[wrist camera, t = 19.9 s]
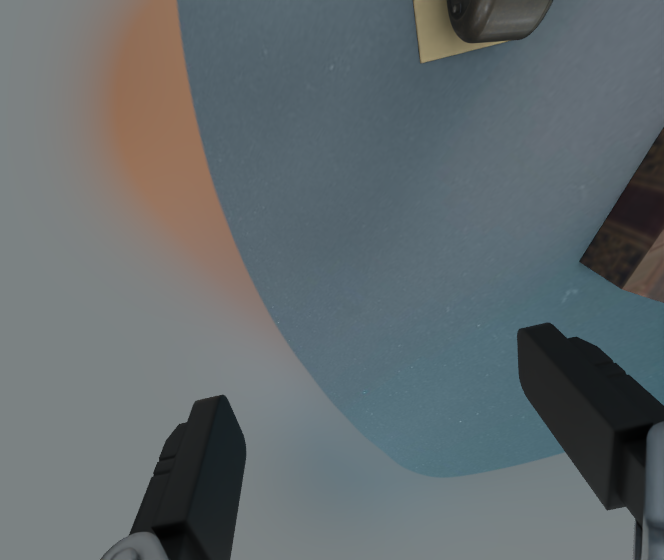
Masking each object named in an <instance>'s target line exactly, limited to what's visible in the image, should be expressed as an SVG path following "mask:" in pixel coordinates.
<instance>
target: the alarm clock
mask: <svg viewBox="0 0 664 560" xmlns="http://www.w3.org/2000/svg"><path fill="white" fill-rule="evenodd" d="M552 2H553V0H447V8H448V14H449V19H450V22H451V25H452V28H453V30H454V32H455V33H456V35H457V36H458V37H459V38H460V39H461V40H463V41H464V42H466V43H486V42H498V41H510V40H520V39H523V38H525V37H527V36H528V35H530V34H531V33H532V32H533V31H534V30H535V29H536V28H537V27H538V25H539V24H540V23H541V21H542V20H543V18H544V17H545V15H546V13H547V11H548V10H549V8H550V6H551V4H552Z"/></svg>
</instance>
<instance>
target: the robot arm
mask: <svg viewBox="0 0 664 560" xmlns="http://www.w3.org/2000/svg"><path fill="white" fill-rule="evenodd" d="M517 343H518V368H519V379H520V383H521V386H522V389H523V391H524V393H525V395H526V397H527V398H528V400H529V401H530V403H531V404H532V406H533V407H534V408H535V410H536V411H537V413H538V414H539V415H540V417H541V418H542V420H543V421H544V422H545V424H546V425H547V427H548V428H549V429H550V431H551V432H552V434H553V435H554V437H555V438H556V439H557V441H558V442H559V444H560V445H561V446H562V448H563V449H564V451H565V452H566V453H567V455H568V456H569V458H570V459H571V460H572V462H573V463H574V465H575V466H576V467H577V469H578V470H579V472H580V473H581V475H582V476H583V477H584V479H585V480H586V482H587V483H588V484H589V486H590V487H591V489H592V490H593V491H594V493H595V494H596V496H597V497H598V498H599V500H600V501H601V503H602V504H603V505H604V507H605V508H606V510H611V509H616V508H621V507H627V508H628V510H629V511H630V512H631V514H632V515H633V516H634V518H635V525H634V545H633V560H664V406H663V405H662V404H661V403H660V402H659V401H658V400H657V399H656V398H654V397H653V396H652V395H651V394H650V393H649V392H648V391H647V390H645V389H644V388H643V387H642V386H641V385H640V384H639V383H638V382H637V381H635V380H634V379H633V378H632V377H631V376H630V375H626V373H625V371H624V370H623V369H622V368H621V367H620V366H619V365H617V364H616V363H613V360H612V359H611V358H610V357H609V356H607V355H606V354H605V353H604V352H603V351H602V350H601V349H600V348H598V347H597V346H595V345H593V344H591V343H589V342H587V341H584V340H582V339H580V338H578V337H572V338H568V339H567V338H566V337H565V336H564V335H563V334H562V333H561V332H560V331H559V330H558V329H557V328H556V327H555V326H554V325H552V324H551V323H543V324H539V325H534V326H530V327H526V328H521V329H519V330H518V333H517ZM245 461H246V444H245V439H244V435H243V433H242V430H241V429H240V426H239V424H238V422H237V419H236V417H235V415H234V412H233V410H232V408H231V406H230V403H229V401H228V399H227V398H226V396H224V395H219V396H215V397H210V398H206V399H202V400H197V401H195V403H194V405H193V407H192V410H191V413H190V416H189V418H188V421H187V422H186V423H182V424H179V425H178V426H177V427H176V429H175V430H174V431H173V432H172V434H171V435H170V436H169V438H168V439H167V440H166V442H165V444H164V447H163V450H162V452H161V455H160V457H159V462H157V465H156V467H155V470H154V473H153V474H154V476H153V477H152V478H151V480H150V483H149V485H148V488H147V490H146V493H145V495H144V498H143V501H142V503H141V506H140V509H139V511H138V514H137V516H136V519H135V521H134V524H133V526H132V529H131V531H130V534H129V536H128V537H126V538H123V539H122V540H120V541H119V542H117V543H116V544H115V545H114V546H112V547H111V548H110V549H109V550H108V551H107V552H106V553H105V554H104V555H103V557H102V558H101V559H100V560H230V557H231V551H232V544H233V537H234V531H235V525H236V519H237V512H238V506H239V499H240V493H241V487H242V480H243V474H244V468H245Z"/></svg>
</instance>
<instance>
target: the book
mask: <svg viewBox="0 0 664 560" xmlns="http://www.w3.org/2000/svg"><path fill="white" fill-rule="evenodd" d="M580 263H582V264H584V265H585V266H587V267H588V268H590V269H591V270H593V271H594V272H596V273H598V274H599V275H601V276H602V277H604V278H605V279H607V280H608V281H610V282H611V283H613V284H615V285H616V286H618V287H619V288H621V289H623V290H626V291H629V292H632V293H635V294H638V295H641V296H644V297H647V298H650V299H653V300H657V301H660V302H663V303H664V128H663V130H662V131H661V133H660V134H659V136H658V138H657V139H656V141H655V142H654V144H653V146H652V147H651V149H650V150H649V152H648V154H647V155H646V157H645V158H644V160H643V161H642V163H641V165H640V166H639V168H638V169H637V171H636V173H635V174H634V176H633V177H632V179H631V181H630V182H629V184H628V185H627V187H626V188H625V190H624V192H623V193H622V195H621V196H620V198H619V200H618V201H617V203H616V204H615V206H614V208H613V209H612V211H611V212H610V214H609V215H608V217H607V219H606V220H605V222H604V223H603V225H602V227H601V228H600V230H599V231H598V233H597V235H596V236H595V238H594V239H593V241H592V242H591V244H590V246H589V247H588V249H587V250H586V252H585V254H584V255H583V257H582V258H581V260H580Z"/></svg>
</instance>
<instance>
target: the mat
mask: <svg viewBox="0 0 664 560" xmlns="http://www.w3.org/2000/svg"><path fill="white" fill-rule="evenodd" d="M413 5H414V14H415V22H416V30H417V39H418V47H419V55H420V63H425V62H428V61H432V60H436V59H440V58H444V57H448V56H452V55H456V54H460V53H464V52H468V51H472V50H475V49H479V48H483V47H487V46H491V45H495V44H499V43H503V42H507V41H498V42H486V43H466V42H464V41H463V40H461V39H460V38H459V37H458V36H457V35H456V33H455V32H454V30H453V28H452V25H451V22H450V19H449V14H448V8H447V0H413ZM510 41H511V40H510Z"/></svg>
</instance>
